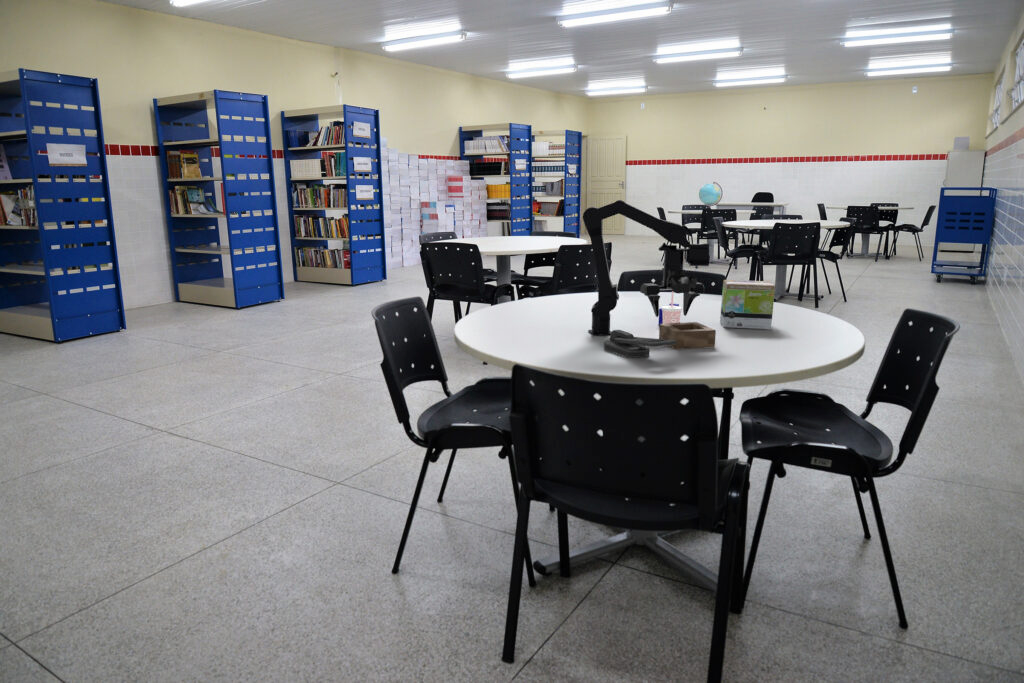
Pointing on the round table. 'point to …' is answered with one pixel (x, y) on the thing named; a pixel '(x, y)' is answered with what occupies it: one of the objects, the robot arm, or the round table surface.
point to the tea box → (747, 304)
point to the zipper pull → (632, 344)
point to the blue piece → (662, 314)
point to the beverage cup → (671, 313)
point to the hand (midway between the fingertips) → (671, 316)
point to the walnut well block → (688, 335)
